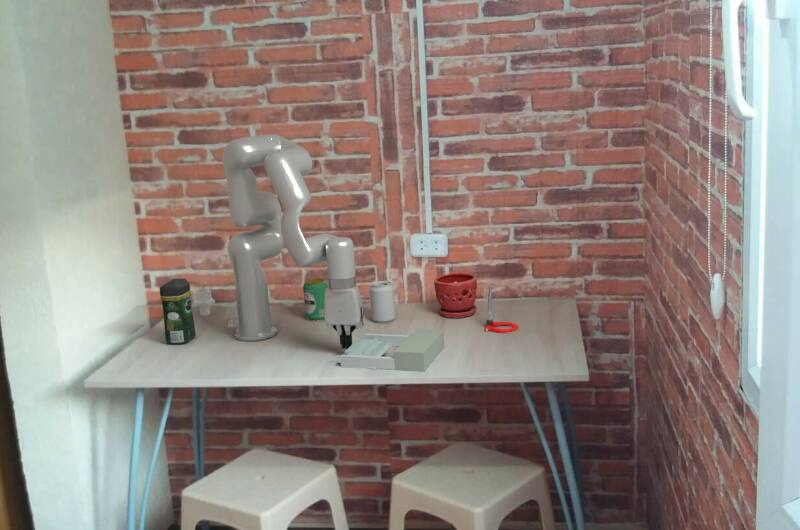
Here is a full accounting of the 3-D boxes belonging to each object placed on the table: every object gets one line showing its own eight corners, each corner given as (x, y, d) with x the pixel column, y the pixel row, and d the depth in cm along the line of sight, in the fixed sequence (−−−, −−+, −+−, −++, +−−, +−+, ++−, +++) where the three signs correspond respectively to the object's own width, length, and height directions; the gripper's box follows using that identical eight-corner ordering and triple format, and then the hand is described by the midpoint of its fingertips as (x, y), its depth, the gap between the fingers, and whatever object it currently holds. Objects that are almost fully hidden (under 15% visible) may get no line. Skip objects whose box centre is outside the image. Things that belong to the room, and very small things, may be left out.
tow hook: (521, 326, 268) (490, 324, 271) (521, 284, 265) (491, 282, 268) (514, 335, 261) (483, 332, 264) (515, 292, 258) (484, 289, 261)
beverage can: (300, 319, 288) (297, 282, 285) (318, 312, 294) (315, 277, 291) (318, 322, 283) (315, 285, 280) (336, 316, 288) (333, 279, 286)
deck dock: (341, 366, 241) (339, 348, 240) (366, 343, 259) (365, 326, 258) (424, 371, 234) (423, 352, 233) (444, 347, 252) (443, 329, 251)
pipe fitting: (214, 316, 296) (211, 292, 295) (192, 317, 296) (189, 294, 295) (218, 311, 302) (215, 288, 301) (196, 312, 303) (194, 289, 301)
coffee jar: (174, 335, 278) (167, 276, 274) (199, 335, 276) (192, 276, 272) (161, 345, 268) (154, 284, 264) (187, 345, 267) (180, 284, 263)
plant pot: (456, 306, 292) (454, 270, 290) (486, 313, 283) (485, 275, 280) (427, 315, 284) (425, 278, 281) (457, 322, 274) (455, 284, 272)
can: (400, 318, 282) (398, 280, 280) (387, 324, 276) (385, 286, 274) (380, 315, 286) (378, 278, 284) (367, 322, 280) (364, 284, 278)
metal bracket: (355, 330, 254) (399, 337, 245) (360, 347, 256) (404, 354, 248) (325, 358, 244) (370, 366, 235) (330, 376, 246) (375, 384, 238)
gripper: (311, 285, 245) (316, 350, 249) (363, 287, 240) (367, 353, 245) (321, 279, 252) (326, 342, 256) (372, 280, 247) (376, 344, 251)
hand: (346, 347), depth 250 cm, fingers closed
